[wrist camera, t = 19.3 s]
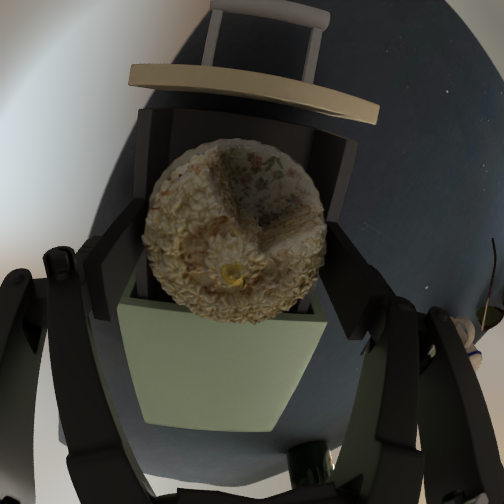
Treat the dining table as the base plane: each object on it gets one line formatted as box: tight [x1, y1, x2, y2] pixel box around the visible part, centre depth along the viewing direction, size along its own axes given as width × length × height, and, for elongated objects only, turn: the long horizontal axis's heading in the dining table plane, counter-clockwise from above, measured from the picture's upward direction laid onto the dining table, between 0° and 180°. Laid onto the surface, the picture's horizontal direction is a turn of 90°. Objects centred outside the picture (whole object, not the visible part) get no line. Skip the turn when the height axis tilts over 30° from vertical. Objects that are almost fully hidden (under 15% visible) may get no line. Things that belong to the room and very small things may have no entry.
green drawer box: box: [117, 269, 327, 432], centre depth 26 cm, size 19×15×9 cm
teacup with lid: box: [430, 316, 482, 372], centre depth 30 cm, size 12×9×12 cm
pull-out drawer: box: [128, 0, 380, 314], centre depth 18 cm, size 23×13×7 cm, turn 170°
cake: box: [141, 138, 327, 326], centre depth 14 cm, size 10×10×5 cm
